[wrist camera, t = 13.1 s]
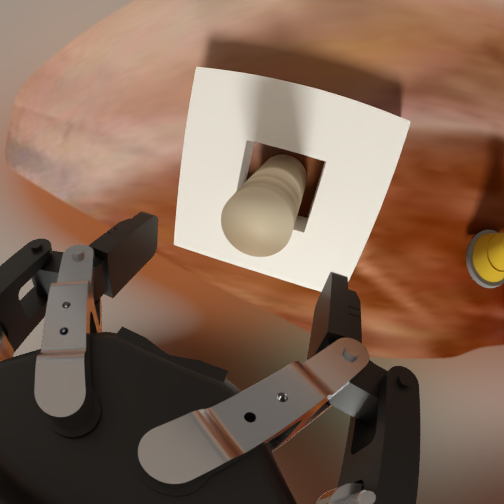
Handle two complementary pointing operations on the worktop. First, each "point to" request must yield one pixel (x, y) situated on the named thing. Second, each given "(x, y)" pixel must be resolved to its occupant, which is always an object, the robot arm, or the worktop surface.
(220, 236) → the socket board
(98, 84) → the worktop surface
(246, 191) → the wooden peg
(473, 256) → the drill bit
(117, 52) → the worktop surface
